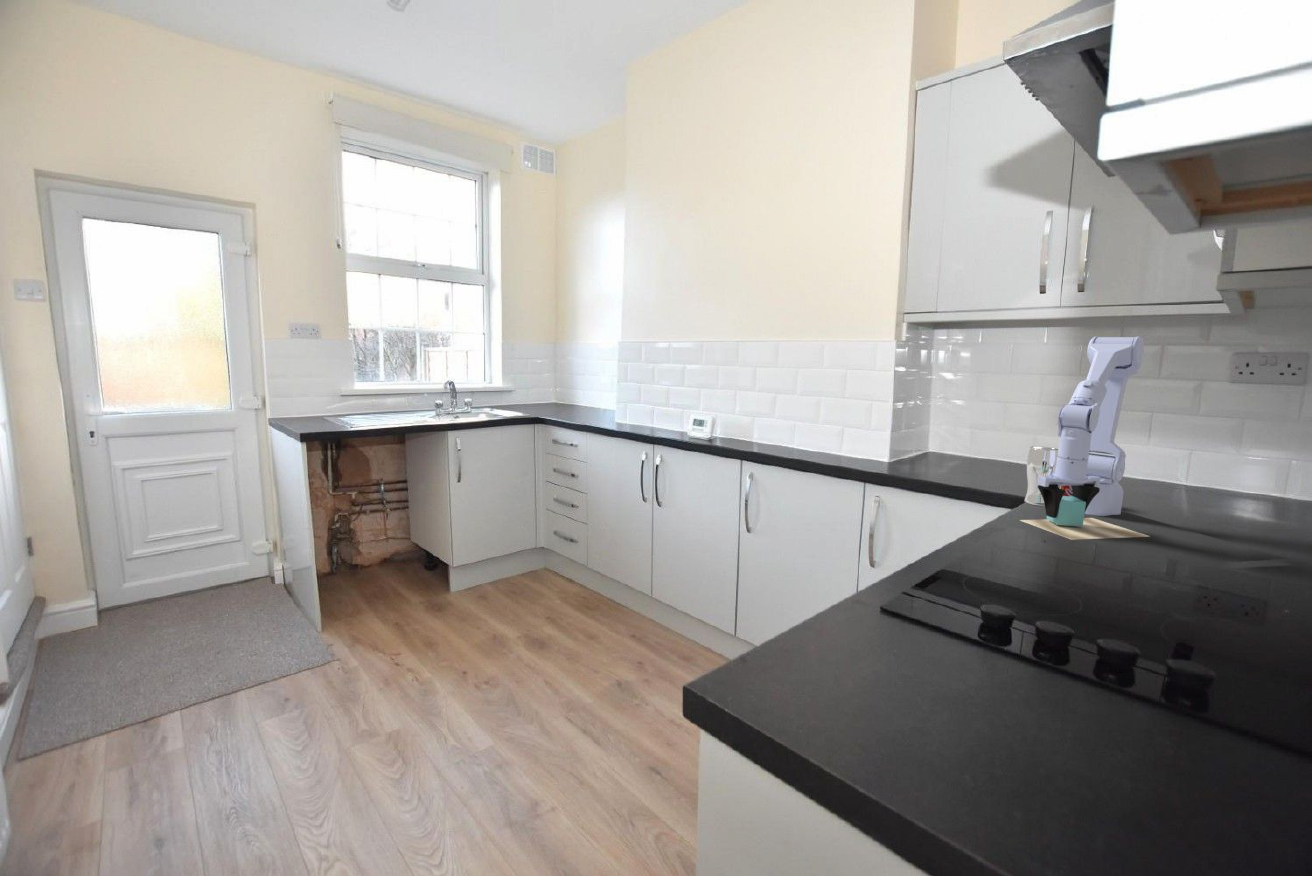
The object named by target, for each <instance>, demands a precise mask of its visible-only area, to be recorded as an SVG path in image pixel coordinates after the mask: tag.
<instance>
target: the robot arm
mask: <svg viewBox="0 0 1312 876" xmlns="http://www.w3.org/2000/svg"><path fill="white" fill-rule="evenodd" d="M1144 346H1145V342H1144V339H1143V338H1142V337H1141V336H1134V337H1133V336H1130V337H1129V336H1126V337H1125V336H1122V337H1121V336H1093V337H1092V338H1091V339H1090V340H1089V342H1088V346H1087V351H1086V356H1087V360H1088V361H1089V362H1088V363H1089V364H1090V367H1089V371H1088V373H1087V375H1086V376H1087V377H1086V379H1085V380H1082V381H1080V382H1079V383H1078V384H1077V386H1076V388H1075V390H1074V391H1073V394H1072V396H1071V397H1070V400H1069V402H1068V404H1066V405H1065V406H1064V405H1063V406H1062V407H1061V408H1060V410H1059V412H1058V417H1057V426H1058V429H1057V430H1058V431H1057V436H1058V438H1059V442H1058V448H1057V449H1058V455H1057V463H1056V470H1055V473H1053V474H1052V475H1049V476H1042V477H1039V480H1038V489H1039V491H1040V493H1041V495H1042V497H1043V500H1044V504H1045V506H1044V509H1045V514H1046V515H1045V516H1046V517H1047V516H1049V517H1052V518H1056V517H1057V514H1058V510H1059V505H1060V501H1061V499H1062V497H1063V495H1064V493H1065V492H1066V491H1065V490H1062V489H1059V488H1060V487H1058V486H1067V485H1071V487H1072V491H1073V497H1076V498H1078V499H1080V500H1082V501H1084V502H1086V506H1085V513H1084V515H1091V516H1099V517H1100V516H1101V517H1107V516H1112V515H1113V516H1114V515H1115V516H1116V515H1117V516H1118V515H1121V512H1122V505H1123V500H1124V499H1123V498H1124V489H1123V487H1122V485H1121V484H1120V483H1119V482H1120V481H1122V479H1123V477H1124V474H1125V469H1126V457H1127V455H1126V452H1125V451H1124V449H1123V448H1121V447H1120V446H1119V445H1117V444H1116V443H1115V440H1116V439H1115V438H1116V434H1117V429H1118V424H1119V420H1120V415H1121V410H1122V405H1123V401H1124V395H1125V391H1126V386H1127V383H1128V381H1129V378H1130V376H1133V375H1136V374H1138V373H1139V370H1140V369H1141V366H1142V365H1141V364H1142V361H1143V355H1144V350H1145V349H1144V348H1145V347H1144Z"/></svg>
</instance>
